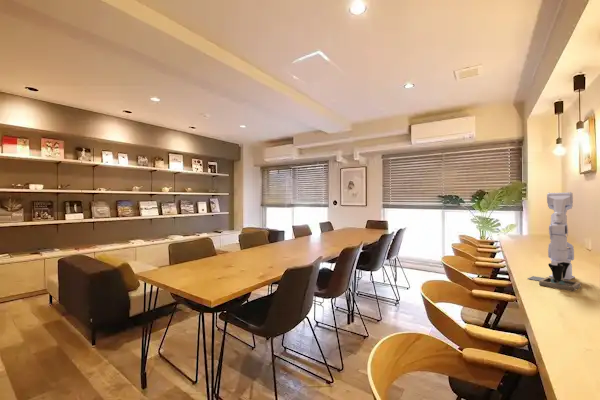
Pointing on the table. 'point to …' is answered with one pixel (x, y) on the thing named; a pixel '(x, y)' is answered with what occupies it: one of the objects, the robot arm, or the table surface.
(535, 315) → the table surface
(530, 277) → the mat
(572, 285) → the frame
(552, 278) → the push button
